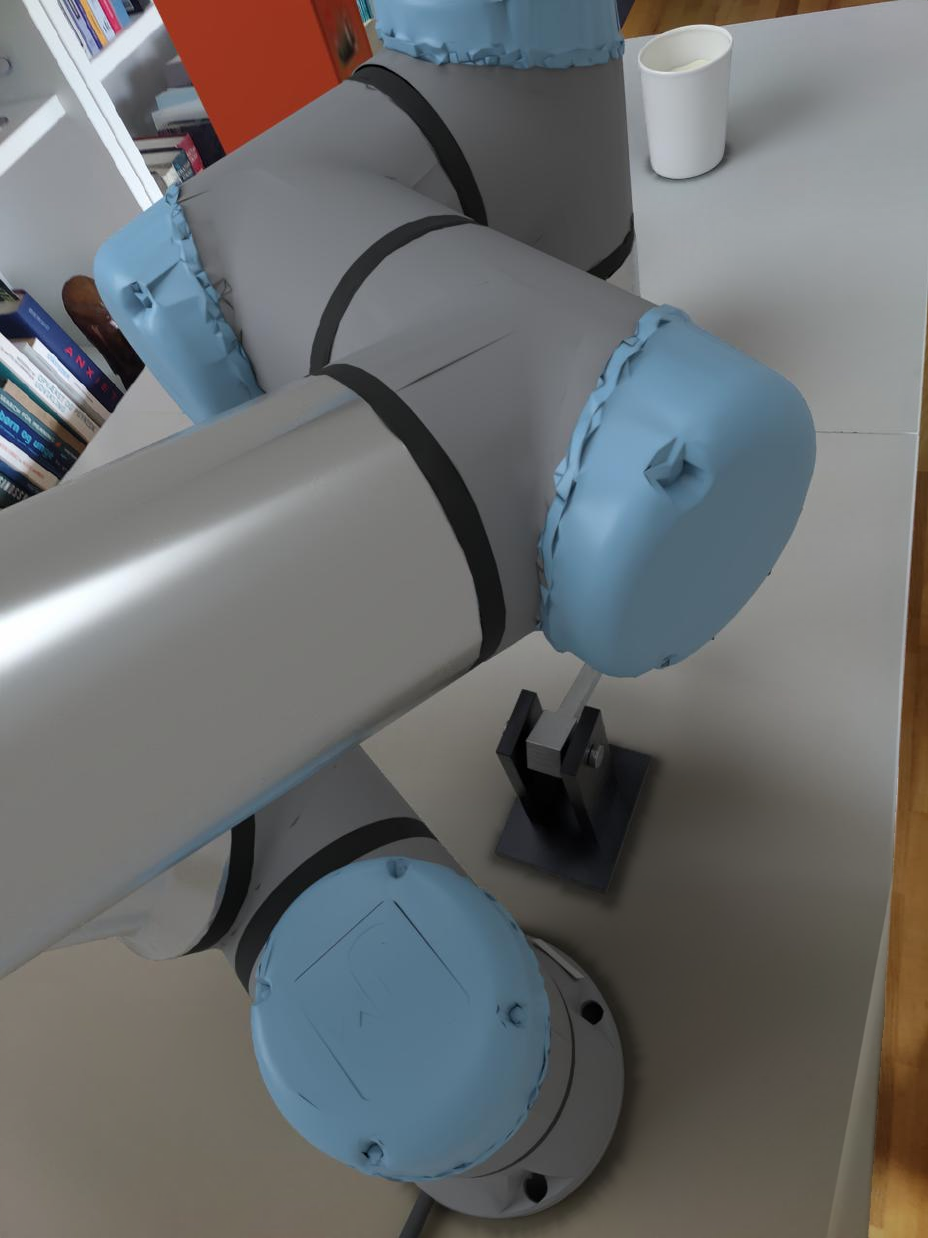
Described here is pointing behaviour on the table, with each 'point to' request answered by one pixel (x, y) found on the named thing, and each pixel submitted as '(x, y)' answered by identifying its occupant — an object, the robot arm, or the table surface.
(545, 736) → the tap lever
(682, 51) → the candle holder
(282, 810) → the robot arm
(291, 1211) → the table surface
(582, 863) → the tap bracket
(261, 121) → the file binder
